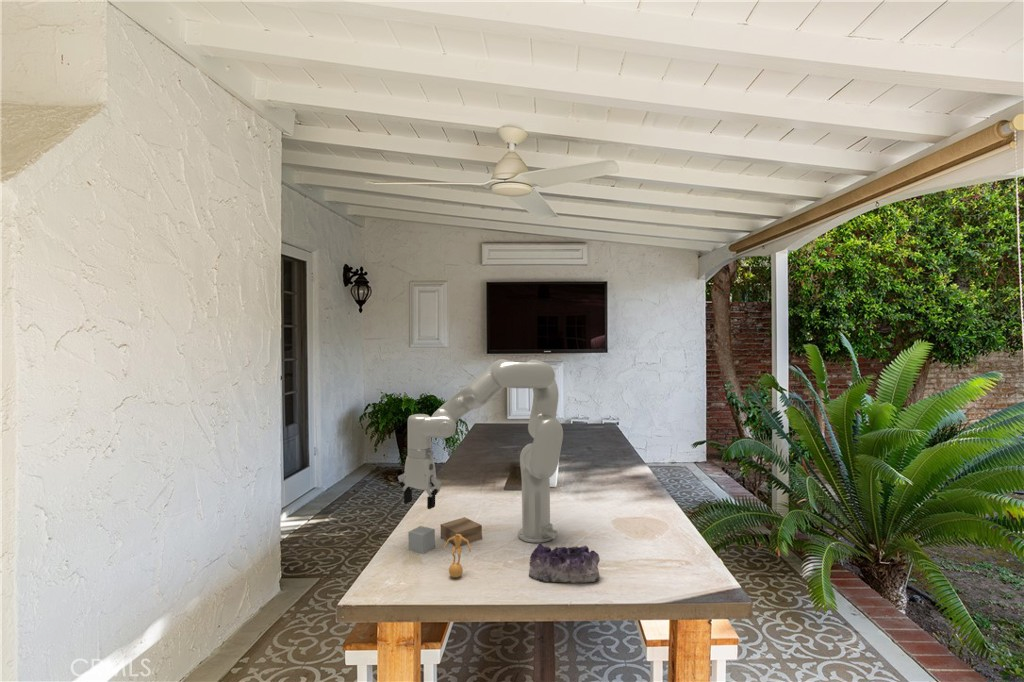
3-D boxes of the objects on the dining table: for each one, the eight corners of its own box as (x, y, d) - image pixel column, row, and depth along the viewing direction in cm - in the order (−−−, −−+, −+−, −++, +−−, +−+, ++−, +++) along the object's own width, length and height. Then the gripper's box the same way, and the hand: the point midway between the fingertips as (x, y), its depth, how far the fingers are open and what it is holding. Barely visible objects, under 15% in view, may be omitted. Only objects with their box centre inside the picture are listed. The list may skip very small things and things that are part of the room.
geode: (529, 588, 156) (527, 551, 157) (528, 575, 167) (526, 540, 168) (603, 584, 156) (600, 547, 157) (596, 570, 168) (594, 536, 168)
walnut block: (482, 539, 190) (481, 525, 190) (457, 548, 184) (457, 533, 183) (464, 531, 198) (464, 517, 197) (440, 538, 191) (440, 524, 191)
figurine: (439, 578, 162) (439, 537, 161) (446, 569, 168) (446, 529, 167) (467, 581, 160) (466, 540, 159) (473, 571, 166) (473, 531, 165)
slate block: (435, 547, 184) (434, 529, 184) (423, 554, 179) (422, 535, 179) (420, 543, 187) (420, 525, 187) (408, 550, 182) (408, 532, 182)
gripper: (448, 454, 180) (447, 506, 181) (406, 447, 189) (406, 497, 190) (433, 459, 174) (433, 513, 175) (391, 451, 183) (391, 503, 183)
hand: (419, 505), depth 182 cm, fingers open, 9 cm apart
